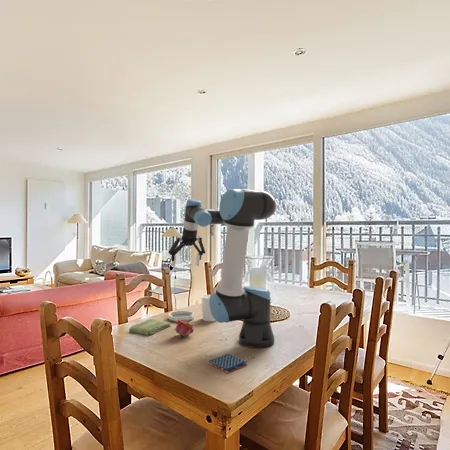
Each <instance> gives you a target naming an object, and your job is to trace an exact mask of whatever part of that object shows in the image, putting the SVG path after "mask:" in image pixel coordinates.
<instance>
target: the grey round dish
mask: <svg viewBox="0 0 450 450" xmlns="http://www.w3.org/2000/svg"><path fill="white" fill-rule="evenodd" d="M178 319H179V320H182V321H183V320H187V321H188V323H190V322H191V321H194V319H195V313H194V312H193V311H190V310H183V309H182V310H174V311H170V312H169V313H168V321H169V322H171V323H176V322H175V321H178Z"/></svg>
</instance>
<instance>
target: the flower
mask: <svg viewBox="0 0 450 450" xmlns="http://www.w3.org/2000/svg"><path fill="white" fill-rule="evenodd" d="M174 323H175V324H176V325H175V332H176V333H177V334H179V336H178V339H181V337H182V336H183V337H184V338H189V336H190V335H191V334H193V332H194V324H191V323H190V322H188V321H187V320H183V321H182V320H179V319H178V321H175V322H174Z"/></svg>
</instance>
